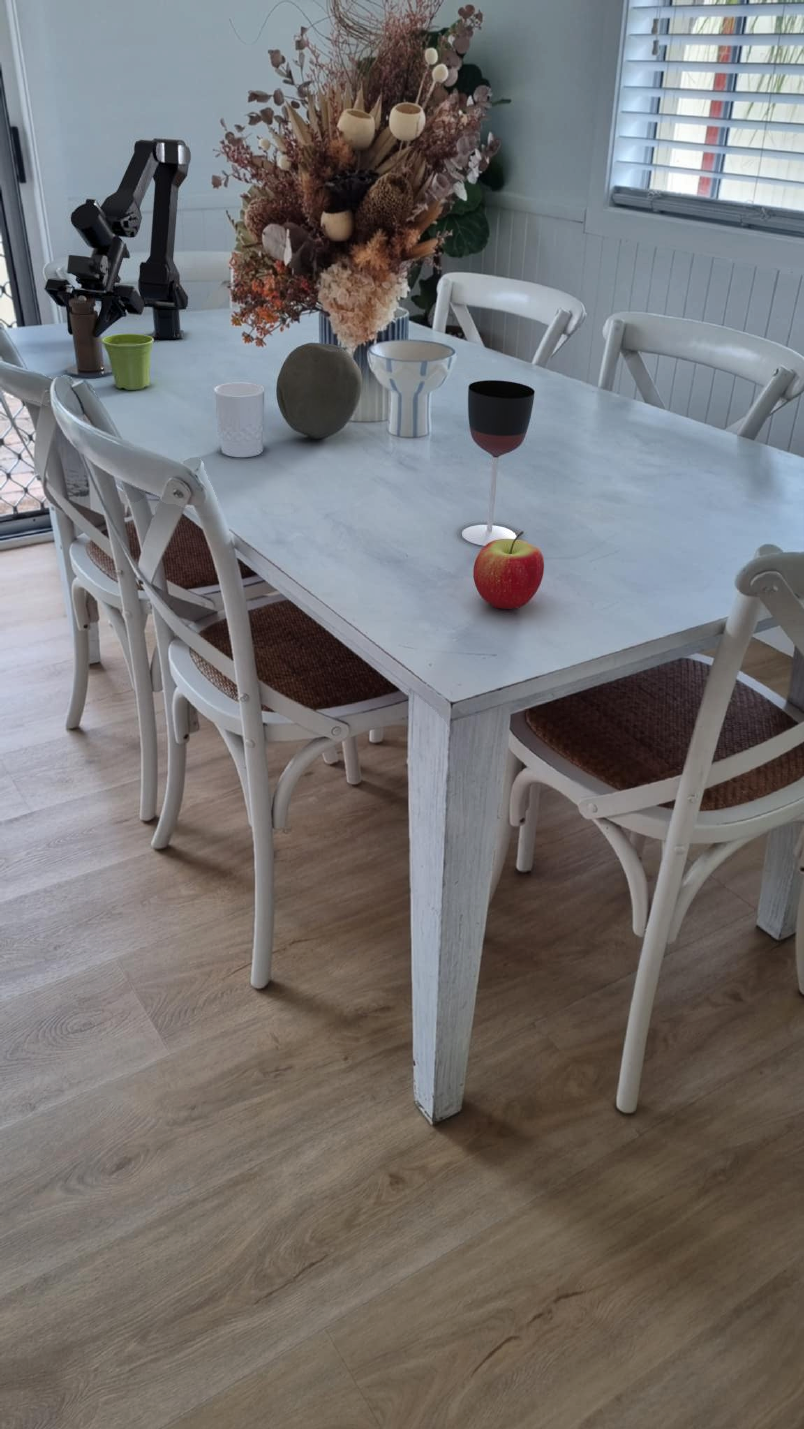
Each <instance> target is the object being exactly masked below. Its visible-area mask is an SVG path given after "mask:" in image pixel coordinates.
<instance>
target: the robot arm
mask: <svg viewBox="0 0 804 1429" xmlns="http://www.w3.org/2000/svg"><path fill="white" fill-rule="evenodd" d="M133 147H134V148H133V154H132V156H131V159H130V161H129V163H128V165H127V168H126V169H125V172H124V174H123V176H122V179H121V181H120V182H119V186H118V187H117V189H116V191H115V192H113V193H112V194H110V195H109V196H107V197H106V198H105V200H104V201H103V202H102V204H100V203H99V201H97V200H98V199H95V198H86V199H85V202H84V203H83V204H80V205H78V206H77V207H75V209H74V211H72V212H71V215H70V222H71V225H72V226H73V228H74V229H75V230H76V232H77V233H78V235H79V236H80V237H81V239H82V240H83V242H84V243H85V244H86V246H87V247H89V248H91V249H92V250H91V251H92V252H91V255H90V256H85V255H76V254H75V255H74V254H68V257H67V258H68V259H67V266H66V267H67V269H66V273H67V274H68V275H72V276H75V282H76V283H77V284H78V285H81V286H80V287H75V286H74V285H72V284H71V283H70V282H69V280H68V279H67V278H57V277H49V278H47V280H46V282H45V286H44V288H43V290H44V291H45V292H46V293H47V295H49V297H50V298H51V300H52V301H54V303H55V304H56V305H57V306H59V307H61V308H65V312H66V325H67V332H68V334H69V335H71V336H73V335H72V327H71V320H70V312H71V311H73V310H72V307H70V304H69V300H70V299H73V298H78V297H79V296H84V297H85V298H93V299H95V302H99V303H100V309H99V312H98V319H97V322H96V325H95V329H94V336H95V337H96V338H98V337H99V336H101V335H103V333H105V332H106V331H107V330H108V329H109V328H110V327H111V326H112V325H113V324H115V323H116V322H118V321H119V320H120V319H121V318H125V317H127V315H128V314H129V315H135V316H136V315H137V316H141V315H142V314H143V312H144V308H151V309H152V318H153V332H152V335H151V337H152V338H153V339H154V340H182V339H183V336H184V330H183V329H181V318H180V317H181V316H180V311H181V310H187V308H188V305H189V304H188V303H189V296H188V294H187V292H186V291H185V289H184V287H183V286H182V285H181V281H180V280H181V276H180V272H179V270H178V268H177V266H176V264H175V261H174V255H175V243H176V242H175V240H176V227H177V214H178V200H179V190H180V187H181V186H182V184H183V183H184V182H185V180H186V178H187V177H188V173H189V167H190V163H191V159H192V154H191V149H190V147H189V146H187V145H186V142H185V141H184V140H183V139H174V138H173V139H171V138H158V137H157V138H153V139H151V140H150V139H139V140H136V141H135V142H134V146H133ZM152 179H153V182H154V193H153V205H152V219H151V232H150V233H151V234H150V235H151V236H150V249H149V250H150V252H149V256H148V258H147V259H146V260H145V261H141V262H140V263H139V275H138V280H137V282H138V283H137V284H138V286H137V289H138V291H137V290H136V288H135V287H134V286H133V285H127V284H120V283H121V280H122V278H121V276H120V275H119V273H120V270H121V267H122V264H123V260H124V259H130V258H131V254H130V251H129V250H128V246H127V243H125V242H124V241H123V239H122V238H130V239H133V238H136V236H137V235H138V234H139V231H140V228H141V224H142V220H143V215H142V212H141V205H142V203H143V200H144V198H145V195H146V194H147V191H148V189H149V186H150V184H151V181H152Z"/></svg>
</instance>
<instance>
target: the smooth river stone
mask: <svg viewBox="0 0 804 1429" xmlns="http://www.w3.org/2000/svg"><path fill="white" fill-rule="evenodd" d="M278 373H279V374H278V376H277V380H276V388H275V390H276V392H275V393H276V395H275V396H276V401H277V406H278V408H279V411H280V413H281V415H282V417H283V419H284V420H285V423H287V424H288V426H289V427H290V428H291V429H292V430H293V431H295V432H296V433H300V434H302V435H304V436H306V437H308V438H311V439H314V440H322V439H326V438H329V437H331V436H333V435H335V434H337V433H338V432H340V431H341V430H342V429H343V428H344V427H346V425H347V424H349V421H351V419H352V417H353V416H354V413H355V411H356V409H357V407H358V405H359V402H360V399H361V395H362V391H363V375H362V372H361V369H360V367H359V365H358V363H357V362H356V360H355V359H354V357H353V356H352V355H351V353H349V352H348V351H347V350H346V349H344V348H343V347H340V346H339V345H335V344H333V343H322V342H307V343H304V344H301V345H299V346H297V347H295V349H292V351H291V352H290V353H289V354H288V355H287V357H286V358H285V360H284V362H283V364H282V366H281V368H280V371H279V372H278Z"/></svg>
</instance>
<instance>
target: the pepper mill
mask: <svg viewBox="0 0 804 1429" xmlns="http://www.w3.org/2000/svg"><path fill="white" fill-rule="evenodd" d="M69 304H70V307H72V310H73V311H71V312H70V320H71V327H72V335H71V336H72V341H73V342H72V343H73V348H74V349H73V350H74V356H75V365H77V369H78V370H80V371H99V370H102V369H104V364H105V360H104V354H103V343H102V337H101V335H100V336H99V337H98V338H96V337H95V336H94V329H95V325H96V322H97V319H98V316H99V312H98V310H95V307H96V305H97V302H96V301H95V299H93V298H85V297H84V296H79V297H78V298H73V299H70V300H69Z"/></svg>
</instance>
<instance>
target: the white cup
mask: <svg viewBox="0 0 804 1429" xmlns="http://www.w3.org/2000/svg"><path fill="white" fill-rule="evenodd" d="M213 395H214V405H215V415H216V422H217V429H218V436H219V440H220V441H219V442H220V450H221V453H222V454H223V455H225V456H227V457H232V458H251V457H255V456H259V455H261V454H262V453H263V451H264V434H265V388H264V387H263V386H262V385H261V384H260V385H259V384H256V383H252V382H241V381H240V382H239V381H237V382H227V383H222V384H219V385H217V386H215V387H214V388H213Z"/></svg>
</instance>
